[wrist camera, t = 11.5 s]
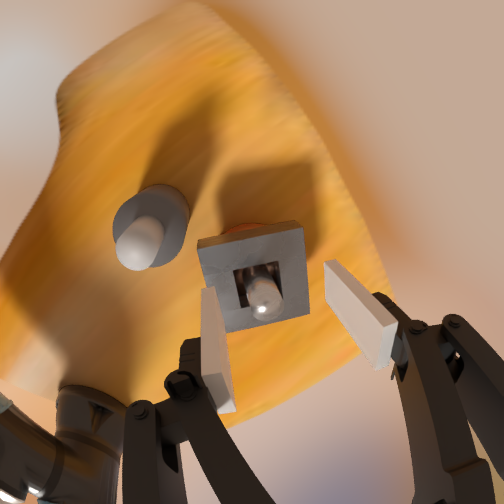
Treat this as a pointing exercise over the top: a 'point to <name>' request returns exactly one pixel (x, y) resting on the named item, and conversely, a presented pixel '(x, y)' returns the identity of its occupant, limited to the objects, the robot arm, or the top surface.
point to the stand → (151, 227)
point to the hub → (259, 285)
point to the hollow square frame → (250, 254)
